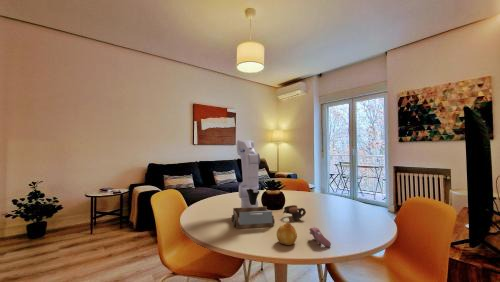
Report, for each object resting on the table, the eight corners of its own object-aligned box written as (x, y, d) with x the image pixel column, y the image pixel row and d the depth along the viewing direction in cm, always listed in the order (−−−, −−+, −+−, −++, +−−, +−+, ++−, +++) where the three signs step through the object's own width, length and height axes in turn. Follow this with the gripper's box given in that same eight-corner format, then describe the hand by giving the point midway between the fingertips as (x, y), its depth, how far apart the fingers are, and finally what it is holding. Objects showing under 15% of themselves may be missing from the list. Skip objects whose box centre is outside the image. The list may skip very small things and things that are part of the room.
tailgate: (271, 222, 112) (271, 210, 112) (272, 223, 110) (272, 211, 110) (239, 224, 109) (239, 212, 109) (239, 225, 107) (239, 213, 107)
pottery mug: (283, 222, 120) (280, 206, 124) (287, 225, 128) (284, 210, 132) (306, 218, 117) (303, 202, 122) (309, 221, 125) (305, 206, 129)
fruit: (301, 242, 88) (296, 220, 92) (280, 244, 87) (276, 222, 91) (296, 245, 95) (292, 225, 99) (277, 248, 94) (274, 227, 98)
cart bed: (267, 217, 126) (267, 206, 126) (275, 226, 112) (275, 213, 113) (231, 219, 123) (231, 208, 123) (234, 228, 109) (234, 215, 109)
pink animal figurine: (313, 241, 98) (305, 226, 98) (322, 236, 99) (315, 221, 99) (322, 252, 89) (314, 235, 88) (332, 246, 89) (324, 230, 89)
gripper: (242, 175, 124) (242, 201, 124) (247, 179, 110) (247, 208, 109) (255, 175, 125) (255, 200, 125) (262, 179, 111) (261, 207, 111)
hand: (252, 204), depth 117 cm, fingers closed
